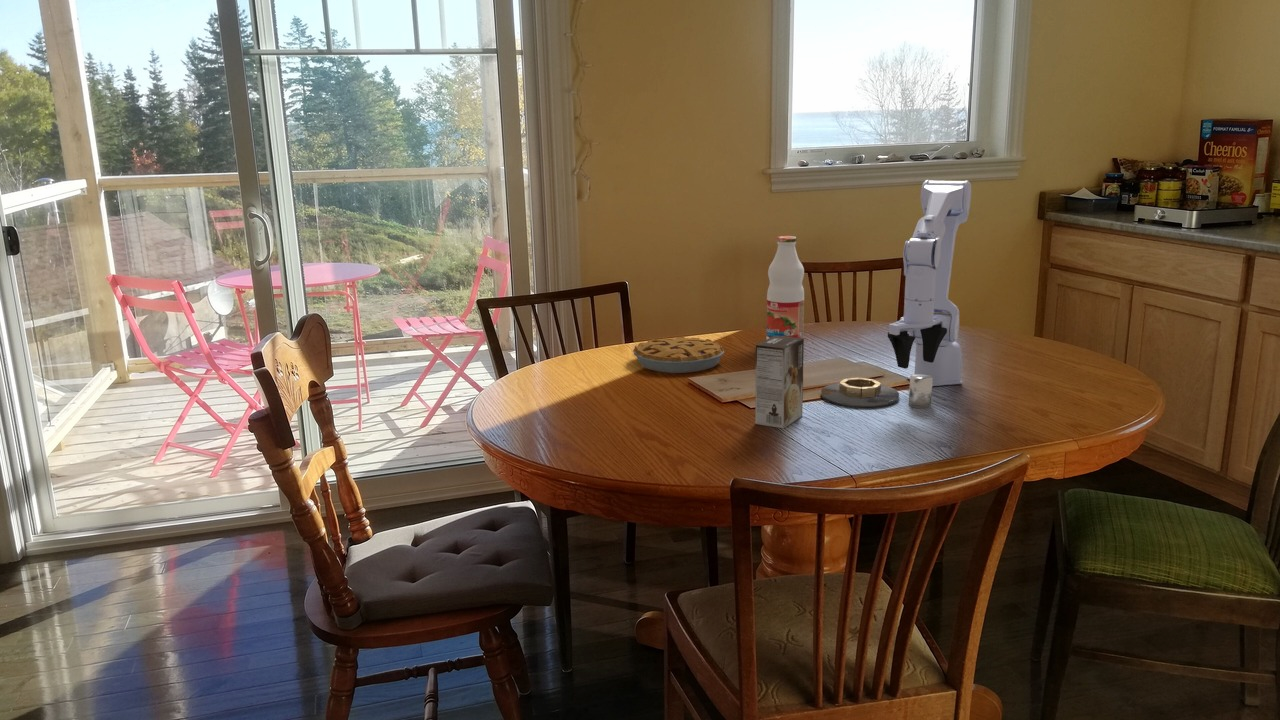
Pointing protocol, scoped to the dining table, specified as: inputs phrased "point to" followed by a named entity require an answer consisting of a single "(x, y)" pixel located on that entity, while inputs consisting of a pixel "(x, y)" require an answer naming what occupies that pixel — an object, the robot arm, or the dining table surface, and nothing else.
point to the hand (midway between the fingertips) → (915, 364)
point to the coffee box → (779, 381)
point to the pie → (678, 354)
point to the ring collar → (860, 393)
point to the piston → (920, 391)
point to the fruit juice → (785, 291)
